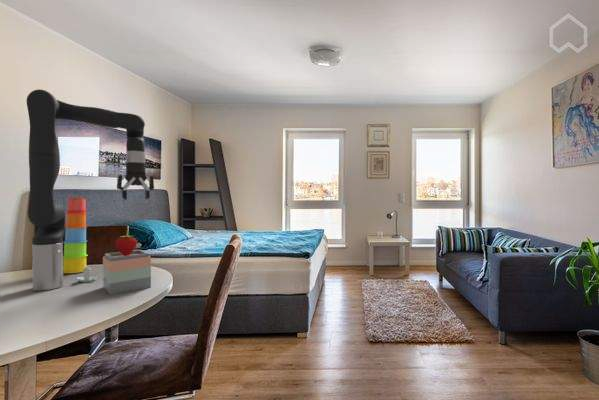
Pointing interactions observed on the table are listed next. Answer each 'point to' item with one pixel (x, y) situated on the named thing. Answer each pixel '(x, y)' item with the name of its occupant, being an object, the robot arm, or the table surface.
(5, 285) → the table surface
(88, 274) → the pacifier
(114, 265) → the pastel striped block
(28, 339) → the table surface
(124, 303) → the table surface
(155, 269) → the table surface
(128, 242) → the strawberry
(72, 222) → the stacking cups
